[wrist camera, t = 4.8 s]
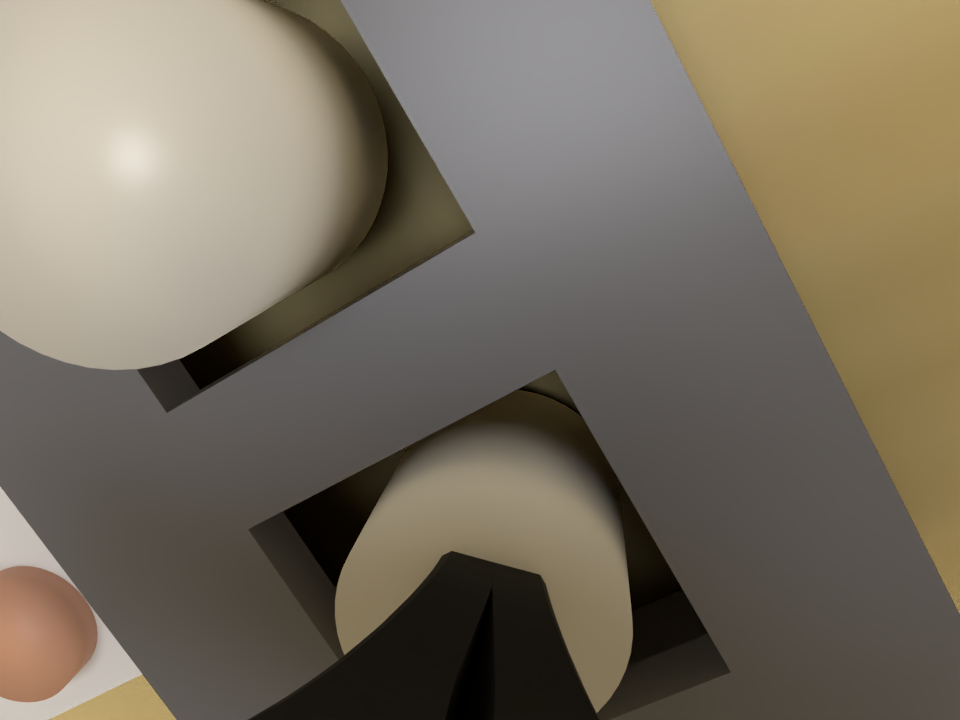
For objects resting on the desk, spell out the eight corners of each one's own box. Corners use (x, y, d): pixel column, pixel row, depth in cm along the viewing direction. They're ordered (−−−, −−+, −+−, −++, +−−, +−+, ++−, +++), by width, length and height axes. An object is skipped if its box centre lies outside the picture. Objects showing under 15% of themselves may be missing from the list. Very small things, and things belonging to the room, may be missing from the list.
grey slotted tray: (895, 553, 15) (1005, 705, 11) (394, 757, 17) (340, 936, 13) (163, -873, 10) (-84, -1454, 7) (-349, -305, 13) (-734, -482, 9)
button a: (659, 538, 14) (687, 687, 11) (469, 622, 15) (432, 787, 12) (550, 349, 14) (537, 437, 10) (358, 450, 15) (278, 566, 11)
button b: (440, 205, 11) (367, 247, 7) (220, 337, 12) (59, 434, 8) (283, -62, 11) (115, -165, 7) (64, 102, 12) (-192, 92, 8)
